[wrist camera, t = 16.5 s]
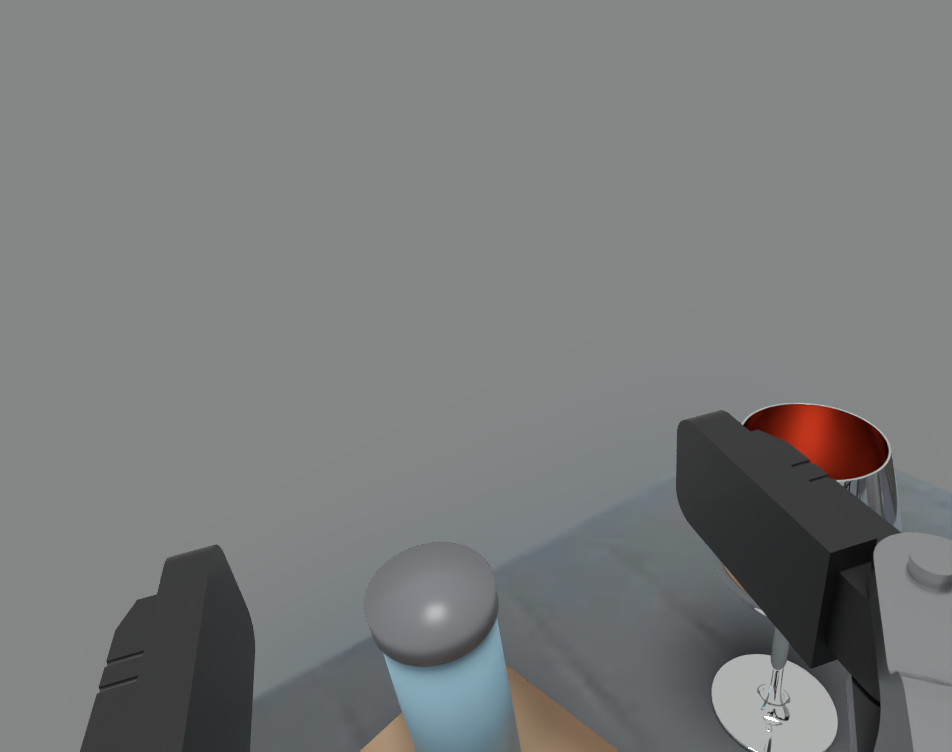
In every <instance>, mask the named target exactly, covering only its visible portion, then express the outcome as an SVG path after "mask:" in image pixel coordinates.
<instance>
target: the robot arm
mask: <svg viewBox="0 0 952 752" xmlns="http://www.w3.org/2000/svg"><path fill="white" fill-rule="evenodd" d="M676 492H677V498H678V502H679V505H680V508H681V510H682V512H683V514H684V516H685V518H686V520H687V521H688V523H689V524H690V525H691V526H692V528H693V529H694V530H695V531H696V532H697V533H698V535H699V536H700V537H701V538H702V539H703V541H704V542H705V543H706V544H707V545H708V547H709V548H710V549H711V550H712V551H713V553H714V554H715V555H716V556H717V557H718V559H719V560H720V561H721V562H722V563H723V565H724V566H725V567H726V568H727V569H728V570H729V572H730V573H731V574H732V575H733V576H734V578H735V579H736V580H737V581H738V582H739V584H740V585H741V586H742V587H743V588H744V590H745V591H746V592H747V593H748V594H749V596H750V597H751V598H752V599H753V600H754V601H755V603H756V604H757V605H758V606H759V607H760V609H761V610H762V611H763V612H764V613H765V615H766V616H767V617H768V618H769V619H770V621H771V622H772V623H773V624H774V625H775V627H776V628H777V629H778V630H779V631H780V633H781V634H782V635H783V636H784V637H785V638H786V640H787V641H788V642H789V643H790V644H791V646H792V647H793V648H794V649H795V650H796V652H797V653H798V654H799V655H800V656H801V658H802V659H803V660H804V661H805V662H806V664H807V665H808V666H809V667H810V668H814V667H817V666H820V665H823V664H825V663H828V662H831V661H834V660H837V659H838V660H839V661H840V663H841V664H842V665H843V666H844V667H845V668H846V669H847V670H848V675H847V680H846V692H847V707H848V721H849V736H850V750H851V752H952V541H951V540H948V539H946V538H942V537H939V536H935V535H930V534H925V533H901V532H900V531H899V530H898V529H896V528H895V527H894V526H893V525H891V524H890V523H889V522H888V521H886V520H885V519H884V518H883V517H881V516H880V515H879V514H877V513H876V512H875V511H874V510H872V509H871V508H870V507H869V506H867V505H866V504H865V503H864V502H862V501H861V500H860V499H859V498H857V497H856V496H855V495H854V494H852V493H851V492H850V491H849V490H847V489H846V488H845V487H844V486H842V485H841V484H840V483H839V482H837V481H836V480H835V479H834V478H831V479H830V478H829V476H828V474H827V473H826V472H825V471H823V470H822V469H821V468H820V467H818V466H817V465H816V464H815V463H813V464H811V462H810V459H808V458H807V457H806V456H805V455H803V454H802V453H801V452H800V451H798V450H797V449H796V448H795V447H793V446H792V445H791V444H790V443H788V442H786V441H784V440H782V439H779V438H777V437H775V436H772V435H770V434H767V433H765V432H763V431H760V430H755V431H751V432H750V431H749V430H748V429H747V428H745V427H744V426H743V425H742V424H741V423H740V422H738V421H737V420H736V419H734V418H733V417H732V416H731V415H730V414H729V413H727V412H725V411H722V410H720V411H716V412H712V413H708V414H705V415H701V416H697V417H694V418H690V419H686V420H683V421H681V422H680V423H679V426H678V429H677V470H676ZM254 660H255V639H254V631H253V625H252V621H251V617H250V615H249V611H248V608H247V606H246V604H245V601H244V599H243V597H242V594H241V592H240V590H239V587H238V585H237V583H236V580H235V578H234V576H233V573H232V571H231V569H230V566H229V564H228V562H227V560H226V557H225V555H224V553H223V551H222V549H221V548H220V547H219V546H218V545H212V546H209V547H205V548H201V549H198V550H194V551H190V552H186V553H183V554H179V555H175V556H172V557H169V558H167V559H166V561H165V564H164V568H163V572H162V576H161V580H160V584H159V589H158V593H157V595H153V596H150V597H146V598H143V599H139V600H137V601H136V602H135V604H134V605H133V607H132V608H131V609H130V611H129V612H128V614H127V615H126V616H125V618H124V619H123V620H122V622H121V623H120V625H119V626H118V627H117V629H116V630H115V634H114V637H113V641H112V644H111V648H110V651H109V654H108V658H107V667H105V668H104V671H103V675H102V678H101V682H100V685H99V689H100V693H98V694H97V695H96V699H95V702H94V706H93V709H92V713H91V716H90V719H89V723H88V726H87V730H86V733H85V736H84V740H83V743H82V747H81V750H80V752H250V738H251V719H252V699H253V680H254Z"/></svg>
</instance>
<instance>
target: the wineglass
mask: <svg viewBox="0 0 952 752" xmlns="http://www.w3.org/2000/svg"><path fill="white" fill-rule="evenodd" d="M742 425H743V426H744V427H745V428H747V429H748V430H749V431H750V432H751V431H755V430H760V431H763V432H765V433H767V434H770V435H772V436H775V437H777V438H779V439H782V440H784V441H786V442H788V443H790V444H791V445H792V446H793V447H795V448H796V449H797V450H798V451H800V452H801V453H802V454H803V455H805V456H806V457H807V458H808V459H810V462H811V464H813V463H815V464H816V465H817V466H818V467H820V468H821V469H822V470H823V471H825V472H826V473H827V474H828V476H829V478H830V479H831V478H834V479H835V480H836V481H837V482H839V483H840V484H841V485H842V486H844V487H845V488H846V489H847V490H849V491H850V492H851V493H852V494H854V495H855V496H856V497H857V498H859V499H860V500H861V501H862V502H864V503H865V504H866V505H867V506H869V507H870V508H871V509H872V510H874V511H875V512H876V513H877V514H879V515H880V516H881V517H883V518H884V519H885V520H886V521H888V522H889V523H890V524H891V525H893V526H894V527H895V528H896V529H898V530H899V531H900V532H901V533H902V523H901V514H900V505H899V498H898V491H897V484H896V477H895V471H894V464H893V458H892V452H891V446H890V443H889V441H888V439H887V438H886V437H885V435H884V434H883V433H882V432H881V431H880V430H879V429H878V428H877V427H875V426H874V425H873V424H872V423H870V422H868V421H867V420H865V419H863V418H861V417H859V416H857V415H855V414H852V413H850V412H847V411H844V410H841V409H838V408H834V407H829V406H825V405H819V404H810V403H786V404H777V405H772V406H768V407H765V408H762V409H760V410H757V411H755V412H753V413H752V414H750V415H749V416H748V417H747V418H746V419H745V420H744V421H743V423H742ZM705 547H706V551H707V554H708V556H709V559H710V561H711V564H712V566H713V568H714V569H715V571H716V573H717V574H718V576H719V577H720V579H721V580H722V582H723V583H724V584H725V585H726V586H727V588H728V589H729V590H730V591H731V592H732V593H733V594H734V595H735V596H736V597H737V598H738V599H740V600H741V601H742V602H743V603H745V604H746V605H747V606H749V607H750V608H752V609H753V610H755V611H756V612H758V613H760V614H762V615H764V616H766V615H765V613H764V612H763V611H762V610H761V609H760V607H759V606H758V605H757V604H756V603H755V601H754V600H753V599H752V598H751V597H750V596H749V594H748V593H747V592H746V591H745V590H744V588H743V587H742V586H741V585H740V584H739V582H738V581H737V580H736V579H735V578H734V576H733V575H732V574H731V573H730V572H729V570H728V569H727V568H726V567H725V566H724V565H723V563H722V562H721V561H720V560H719V559H718V557H717V556H716V555H715V554H714V553H713V551H712V550H711V549H710V548H709V547H708V545H707V544H706V543H705ZM766 617H767V616H766ZM789 644H790V643H789V642H788V641H787V640H786V638H785V637H784V636H783V635H782V634H781V633H780V631H779V630H778V629H777V628H776V627H775V628H774V636H773V644H772V651H771V655H764V654H750V655H744V656H740V657H737V658H734V659H732V660H730V661H729V662H727V663H726V664H724V665H723V666H722V667H721V668H720V669H719V671H718V672H717V674H716V676H715V678H714V680H713V684H712V690H711V697H712V704H713V708H714V711H715V713H716V716H717V718H718V720H719V721H720V723H721V725H722V726H723V727H724V729H725V730H726V731H727V733H728V734H729V735H730V736H731V737H732V738H733V739H734V740H735V741H737V742H738V743H739V744H740V745H742V746H743V747H744V748H746V749H747V750H749V751H751V752H826V751H827V750H828V749H829V748H830V746H831V745H832V743H833V742H834V740H835V737H836V734H837V729H838V718H837V712H836V709H835V706H834V703H833V701H832V699H831V697H830V695H829V694H828V692H827V691H826V689H825V688H824V687H823V686H822V684H821V683H820V682H819V681H818V680H817V679H816V678H815V677H813V676H812V675H811V674H810V673H809V672H807V671H806V670H804V669H803V668H801V667H800V666H798V665H796V664H794V663H792V662H790V661H788V660H787V656H788V650H789Z"/></svg>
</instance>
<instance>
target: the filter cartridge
mask: <svg viewBox="0 0 952 752" xmlns="http://www.w3.org/2000/svg"><path fill="white" fill-rule="evenodd" d="M364 610H365V614H366V618H367V621H368V624H369V627H370V630H371V633H372V636H373V639H374V641H375V643H376V644H377V646H378V647H379V649H380V650H381V651H382V652H383V654H384V657H385V660H386V663H387V666H388V670H389V673H390V676H391V679H392V682H393V685H394V688H395V691H396V694H397V698H398V701H399V704H400V707H401V710H402V713H403V716H404V719H405V722H406V726H407V729H408V732H409V735H410V738H411V741H412V744H413V747H414V751H415V752H522V751H521V746H520V740H519V735H518V730H517V724H516V719H515V713H514V708H513V703H512V697H511V692H510V687H509V681H508V676H507V670H506V665H505V660H504V654H503V649H502V643H501V638H500V633H499V627H498V622H497V614H498V596H497V590H496V584H495V579H494V574H493V571H492V569H491V567H490V565H489V563H488V562H487V561H486V559H485V558H484V557H482V555H481V554H479V553H478V552H476V551H475V550H473V549H471V548H469V547H467V546H464V545H460V544H456V543H449V542H434V543H427V544H422V545H418V546H415V547H412V548H409V549H407V550H405V551H403V552H401V553H399V554H398V555H396V556H394V557H393V558H391V559H390V560H388V561H387V562H386V563H385V564H384V565H383V566H382V567H381V568H380V569H379V570H378V571H377V572H376V573H375V575H374V576H373V577H372V579H371V581H370V583H369V585H368V587H367V589H366V593H365V597H364Z"/></svg>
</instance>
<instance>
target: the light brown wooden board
mask: <svg viewBox="0 0 952 752" xmlns="http://www.w3.org/2000/svg"><path fill="white" fill-rule="evenodd" d="M505 665H506V664H505ZM506 670H507V676H508V681H509V687H510V692H511V697H512V703H513V708H514V713H515V719H516V724H517V730H518V735H519V740H520V746H521V751H522V752H620V751H618V750H617V749H616V748H615V747H613V746H612V745H611V744H609V743H608V742H607V741H605V740H604V739H603V738H602V737H600V736H599V735H598V734H596V733H595V732H594V731H592V730H591V729H590V728H588V727H587V726H586V725H585V724H583V723H582V722H581V721H579V720H578V719H577V718H575V717H574V716H573V715H571V714H570V713H569V712H568V711H566V710H565V709H564V708H562V707H561V706H560V705H558V704H557V703H556V702H554V701H553V700H552V699H551V698H549V697H548V696H547V695H545V694H544V693H543V692H541V691H540V690H539V689H537V688H536V687H535V686H534V685H532V684H531V683H530V682H528V681H527V680H526V679H524V678H523V677H522V676H521V675H519V674H518V673H517V672H515V671H514V670H513V669H511V668H510V667H509V666H507V665H506ZM360 752H415V751H414V747H413V744H412V741H411V738H410V735H409V732H408V729H407V726H406V722H405V719H404V716H403V713H401V714H400V715H399V716H398V717H396V718H395V719H394V720H393V721H392V722H391V723H390V724H389V725H388V726H387V727H386V728H385V729H383V730H382V731H381V732H380V733H379V734H378V735H377V736H376V737H375V738H374V739H373V740H372V741H371V742H369V743H368V744H367V745H366V746H365V747H364V748H363V749H362V750H361V751H360Z"/></svg>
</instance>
